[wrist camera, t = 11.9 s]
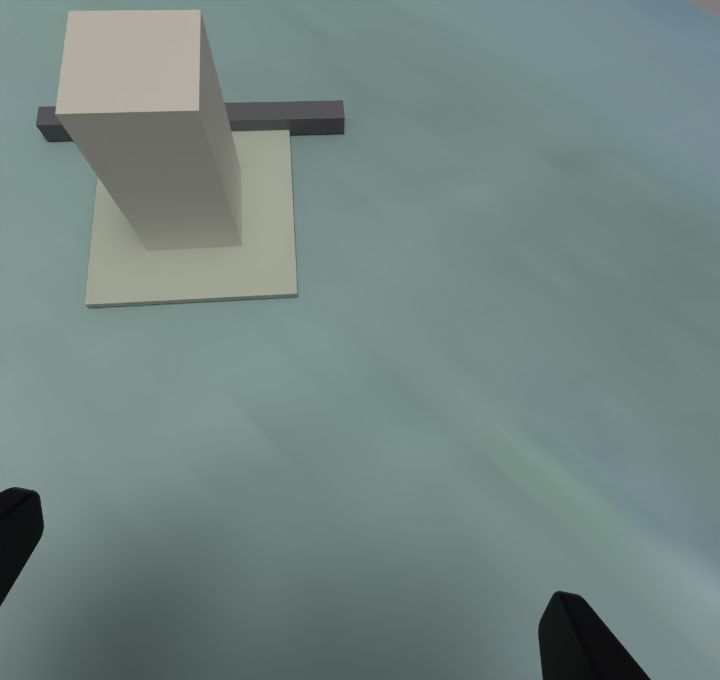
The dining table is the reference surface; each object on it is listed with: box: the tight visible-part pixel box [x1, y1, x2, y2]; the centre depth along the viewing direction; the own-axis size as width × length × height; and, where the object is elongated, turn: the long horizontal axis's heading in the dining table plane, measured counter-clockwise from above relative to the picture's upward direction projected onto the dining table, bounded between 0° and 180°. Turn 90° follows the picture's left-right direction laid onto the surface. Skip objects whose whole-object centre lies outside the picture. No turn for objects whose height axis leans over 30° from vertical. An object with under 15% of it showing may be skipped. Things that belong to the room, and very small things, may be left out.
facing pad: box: [85, 130, 298, 308], centre depth 26 cm, size 10×10×1 cm
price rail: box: [36, 101, 344, 141], centre depth 27 cm, size 16×1×1 cm, turn 95°
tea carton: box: [55, 10, 242, 251], centre depth 22 cm, size 5×5×9 cm
